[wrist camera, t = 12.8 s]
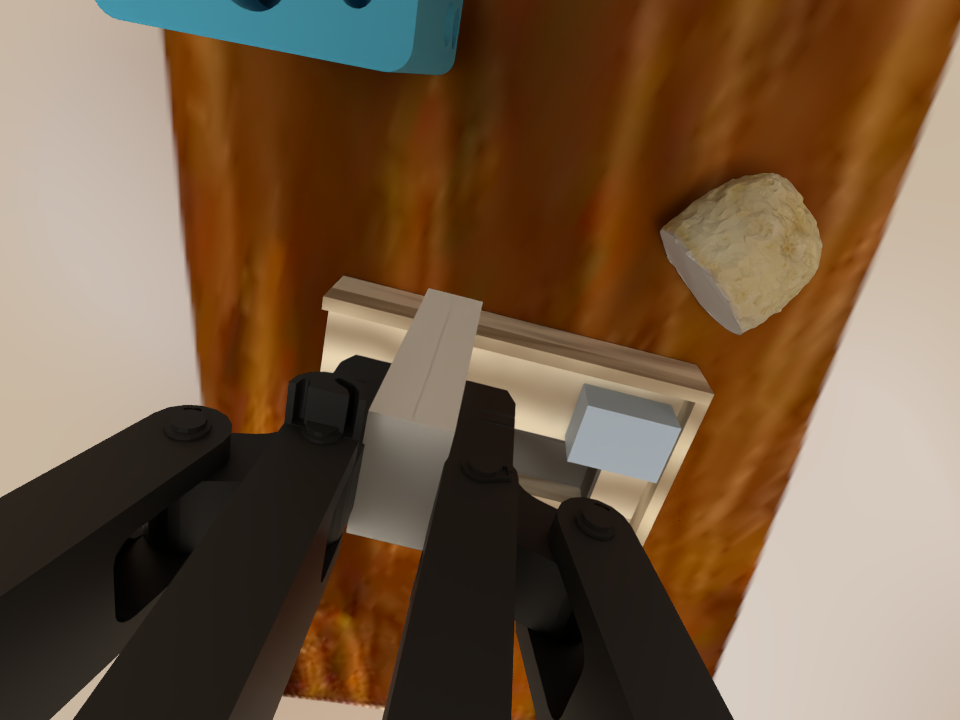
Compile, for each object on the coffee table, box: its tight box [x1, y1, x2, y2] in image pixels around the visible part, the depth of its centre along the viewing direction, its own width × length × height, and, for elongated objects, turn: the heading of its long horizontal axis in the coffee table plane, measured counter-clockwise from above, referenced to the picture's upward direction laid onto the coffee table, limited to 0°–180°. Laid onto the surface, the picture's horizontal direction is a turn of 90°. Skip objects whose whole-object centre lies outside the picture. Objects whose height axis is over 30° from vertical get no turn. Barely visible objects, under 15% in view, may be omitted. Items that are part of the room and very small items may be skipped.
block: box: [565, 383, 681, 483], centre depth 46 cm, size 5×7×4 cm
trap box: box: [320, 276, 714, 547], centre depth 48 cm, size 15×29×5 cm, turn 77°
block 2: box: [95, 0, 463, 75], centre depth 30 cm, size 12×5×20 cm, turn 80°
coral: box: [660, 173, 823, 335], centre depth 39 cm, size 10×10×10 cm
